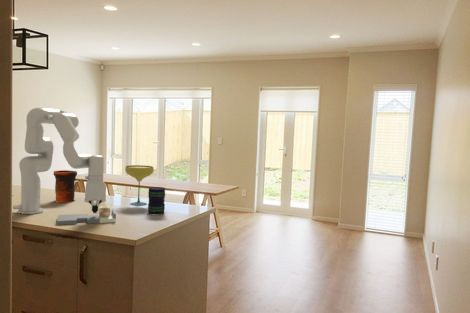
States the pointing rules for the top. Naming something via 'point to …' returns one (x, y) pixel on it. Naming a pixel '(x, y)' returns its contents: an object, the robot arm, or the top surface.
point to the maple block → (104, 211)
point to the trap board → (85, 218)
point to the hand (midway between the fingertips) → (94, 212)
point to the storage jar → (156, 200)
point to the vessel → (65, 185)
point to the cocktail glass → (139, 177)
